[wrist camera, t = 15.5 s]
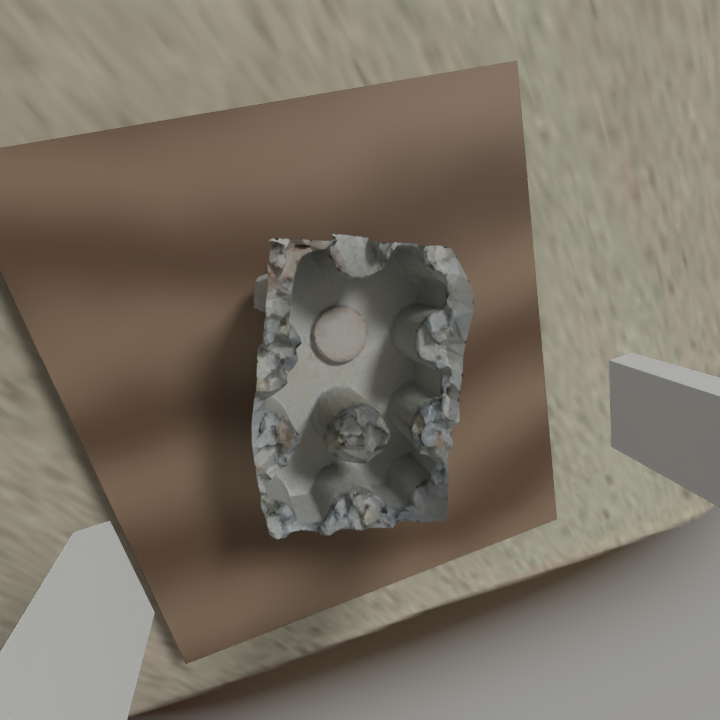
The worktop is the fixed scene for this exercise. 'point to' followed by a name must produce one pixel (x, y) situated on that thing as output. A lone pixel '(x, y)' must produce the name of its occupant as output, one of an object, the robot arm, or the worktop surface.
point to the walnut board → (246, 325)
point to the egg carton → (357, 382)
